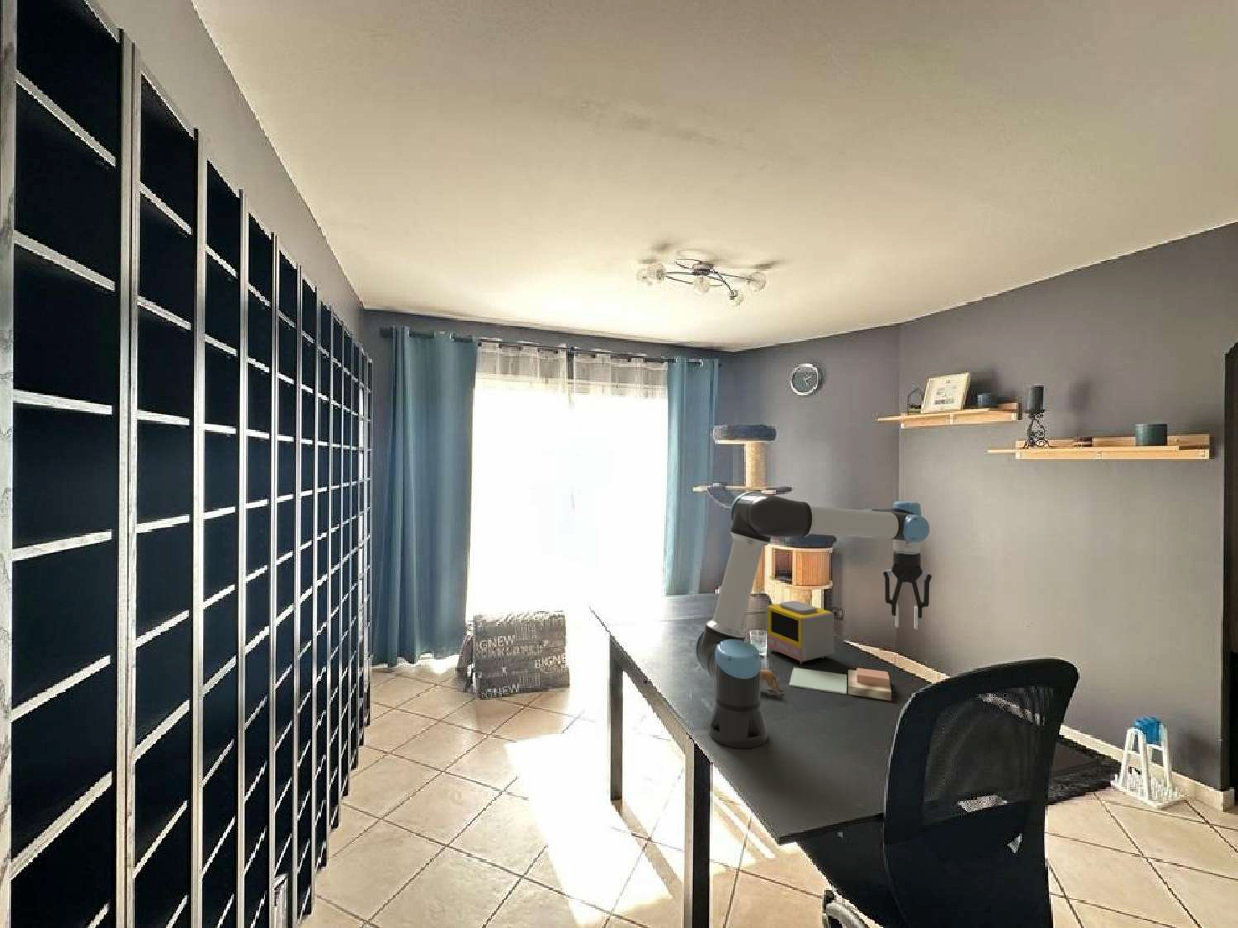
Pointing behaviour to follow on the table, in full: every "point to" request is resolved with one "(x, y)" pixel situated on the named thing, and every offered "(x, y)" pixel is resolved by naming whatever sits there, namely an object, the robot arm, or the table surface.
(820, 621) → the alarm clock
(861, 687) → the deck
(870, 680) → the block
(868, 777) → the table surface
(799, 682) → the mat
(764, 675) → the lion figurine
